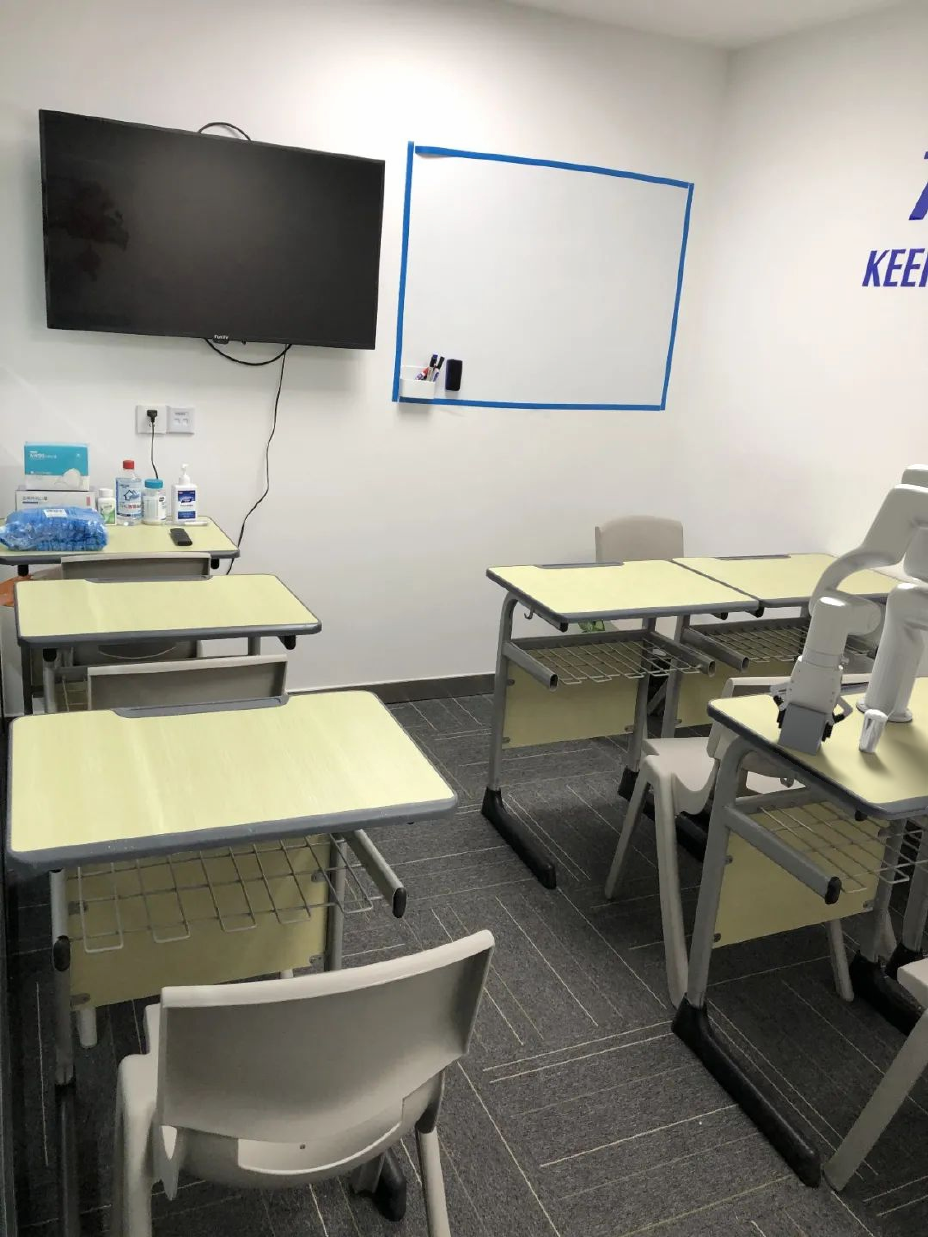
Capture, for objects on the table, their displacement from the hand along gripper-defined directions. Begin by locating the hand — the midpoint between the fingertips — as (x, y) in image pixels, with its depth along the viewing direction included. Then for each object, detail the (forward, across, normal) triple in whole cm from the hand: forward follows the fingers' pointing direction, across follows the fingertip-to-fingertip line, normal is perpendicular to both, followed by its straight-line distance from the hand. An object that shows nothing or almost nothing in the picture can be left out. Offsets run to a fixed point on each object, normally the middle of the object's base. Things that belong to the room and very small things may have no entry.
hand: (802, 733), depth 198 cm
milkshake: (+3, -13, -8) cm, 16 cm away
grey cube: (+3, 0, 0) cm, 3 cm away
